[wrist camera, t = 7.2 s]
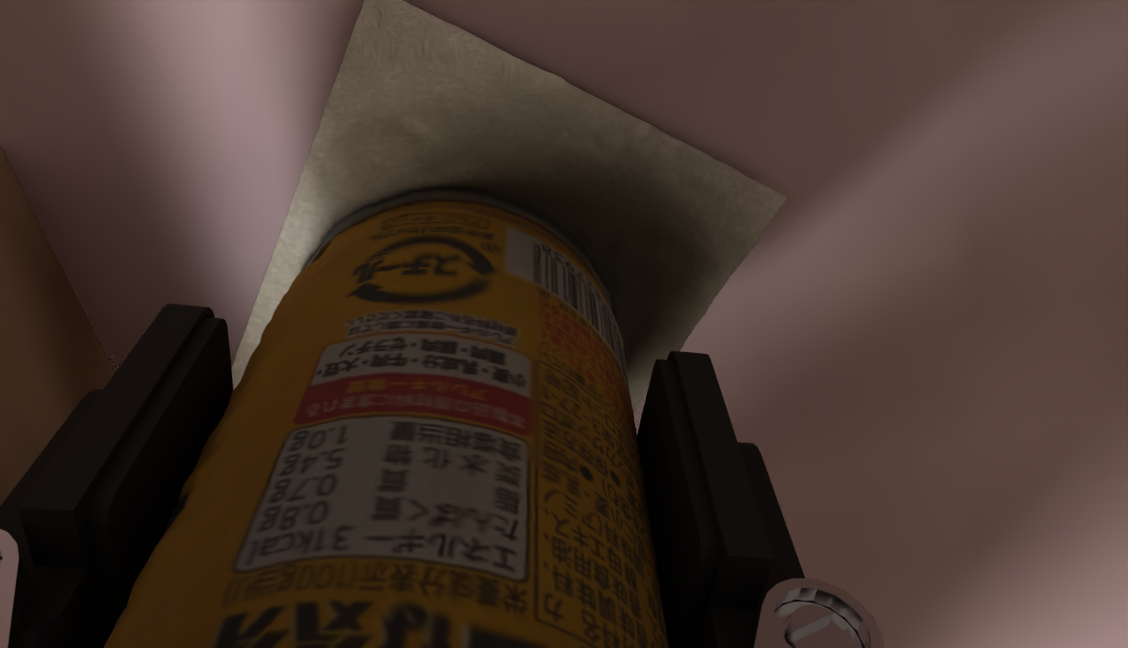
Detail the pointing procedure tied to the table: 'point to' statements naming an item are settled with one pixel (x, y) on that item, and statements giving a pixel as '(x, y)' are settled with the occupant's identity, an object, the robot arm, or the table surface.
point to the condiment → (450, 368)
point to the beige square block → (37, 338)
